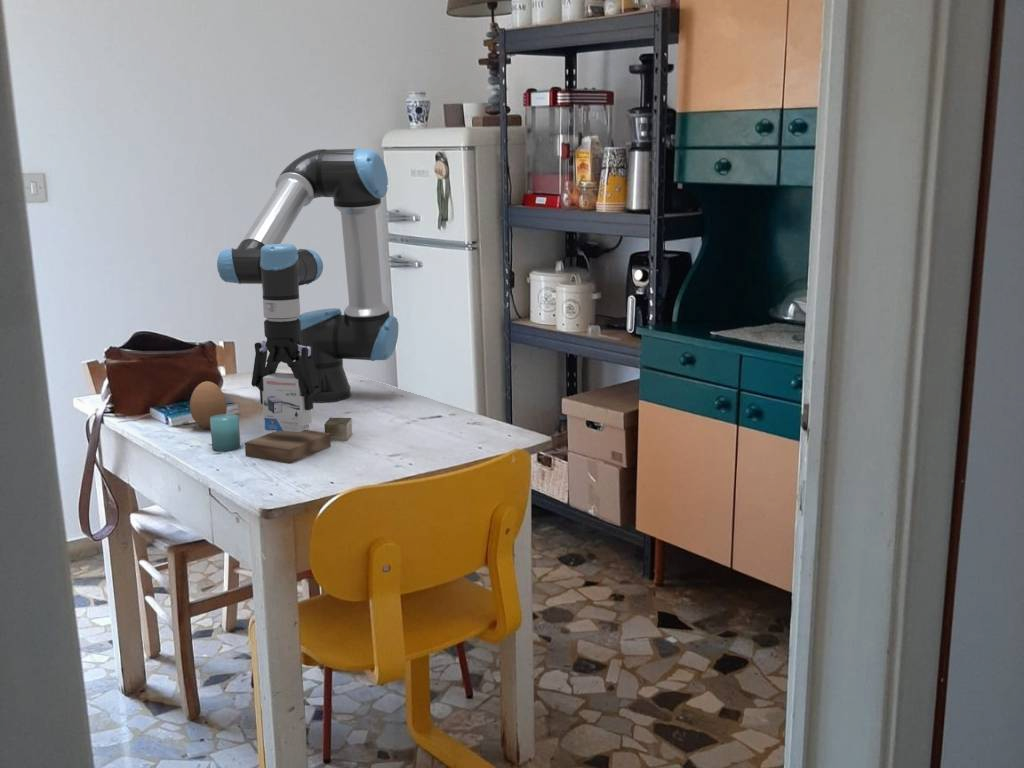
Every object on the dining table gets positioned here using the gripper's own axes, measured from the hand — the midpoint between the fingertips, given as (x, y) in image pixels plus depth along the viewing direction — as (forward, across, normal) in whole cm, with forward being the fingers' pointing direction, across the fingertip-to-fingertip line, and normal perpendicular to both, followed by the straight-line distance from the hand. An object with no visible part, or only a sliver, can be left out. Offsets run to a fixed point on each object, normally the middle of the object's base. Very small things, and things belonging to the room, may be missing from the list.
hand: (287, 421), depth 212 cm
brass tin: (+7, +3, +14) cm, 16 cm away
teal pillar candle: (+7, -14, -4) cm, 16 cm away
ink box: (+2, 0, 0) cm, 2 cm away
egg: (+7, -29, +7) cm, 31 cm away
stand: (+7, 0, 0) cm, 7 cm away
